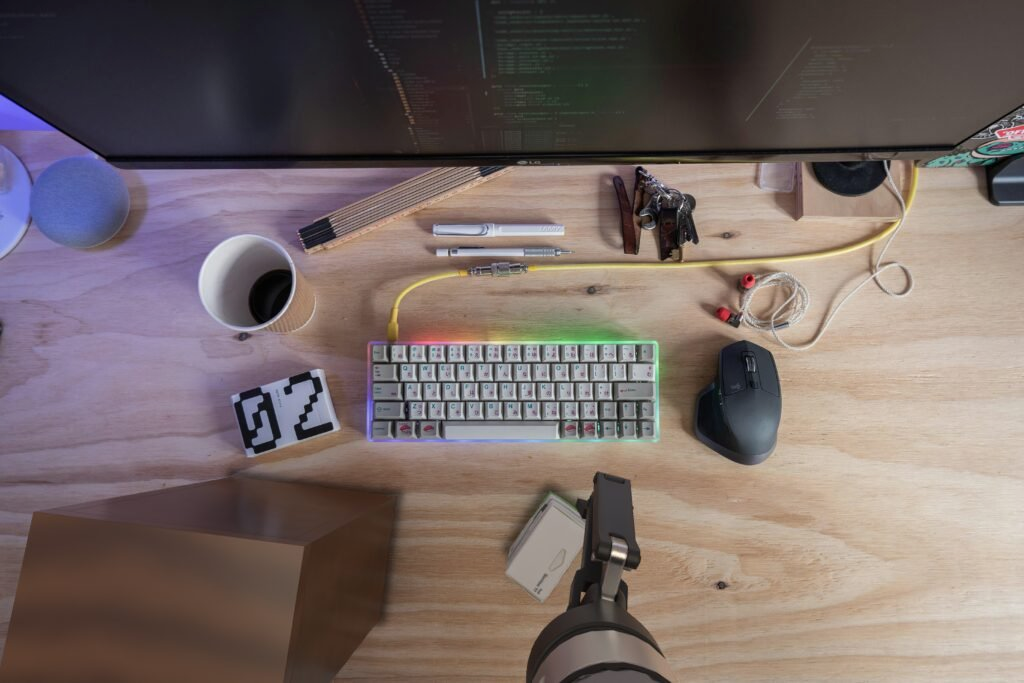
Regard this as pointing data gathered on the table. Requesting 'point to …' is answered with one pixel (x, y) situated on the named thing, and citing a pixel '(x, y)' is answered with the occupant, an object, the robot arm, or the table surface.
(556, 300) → the table surface
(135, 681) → the shelf
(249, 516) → the shelf stand
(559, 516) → the ink box
